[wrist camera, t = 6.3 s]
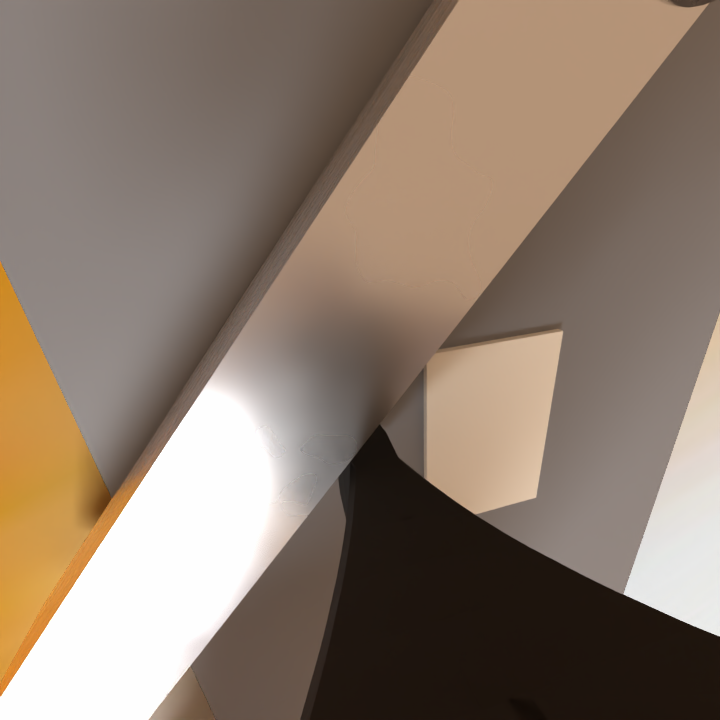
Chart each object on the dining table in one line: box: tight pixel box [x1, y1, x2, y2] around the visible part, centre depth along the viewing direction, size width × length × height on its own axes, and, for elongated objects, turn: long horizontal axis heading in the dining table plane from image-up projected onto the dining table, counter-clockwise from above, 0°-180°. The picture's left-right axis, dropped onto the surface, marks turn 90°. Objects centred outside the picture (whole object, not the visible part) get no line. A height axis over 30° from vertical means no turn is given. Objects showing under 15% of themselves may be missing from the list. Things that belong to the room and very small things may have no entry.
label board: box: [0, 0, 720, 720], centre depth 11 cm, size 24×18×1 cm
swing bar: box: [0, 0, 716, 720], centre depth 6 cm, size 18×3×3 cm, turn 143°
